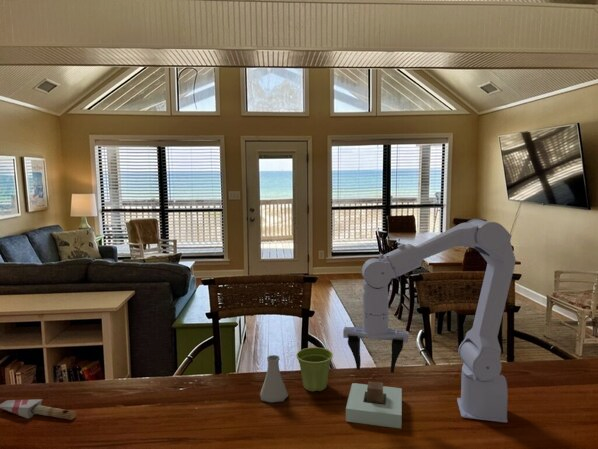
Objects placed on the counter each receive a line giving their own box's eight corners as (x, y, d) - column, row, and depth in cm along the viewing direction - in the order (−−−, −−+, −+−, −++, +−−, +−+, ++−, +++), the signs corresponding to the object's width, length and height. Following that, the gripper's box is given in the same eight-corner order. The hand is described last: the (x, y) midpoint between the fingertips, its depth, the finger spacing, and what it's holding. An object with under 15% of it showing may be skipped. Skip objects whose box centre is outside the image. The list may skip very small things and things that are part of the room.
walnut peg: (382, 407, 96) (383, 382, 95) (382, 414, 92) (382, 389, 92) (368, 405, 97) (368, 381, 96) (367, 413, 93) (367, 388, 93)
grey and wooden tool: (9, 393, 98) (79, 405, 94) (9, 403, 99) (79, 417, 94) (-6, 401, 95) (66, 414, 90) (-6, 412, 95) (66, 426, 91)
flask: (290, 389, 105) (289, 352, 104) (286, 404, 97) (285, 364, 97) (262, 388, 105) (261, 351, 104) (256, 403, 98) (255, 363, 97)
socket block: (401, 400, 99) (401, 388, 98) (401, 428, 87) (401, 415, 87) (352, 394, 102) (352, 382, 101) (345, 421, 90) (345, 408, 90)
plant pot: (319, 399, 99) (319, 365, 99) (289, 388, 105) (289, 356, 104) (339, 384, 107) (339, 352, 106) (310, 374, 112) (310, 344, 112)
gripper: (408, 308, 94) (407, 364, 96) (346, 304, 98) (346, 359, 99) (408, 318, 87) (408, 378, 89) (341, 313, 91) (342, 372, 92)
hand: (375, 369), depth 93 cm, fingers open, 7 cm apart
